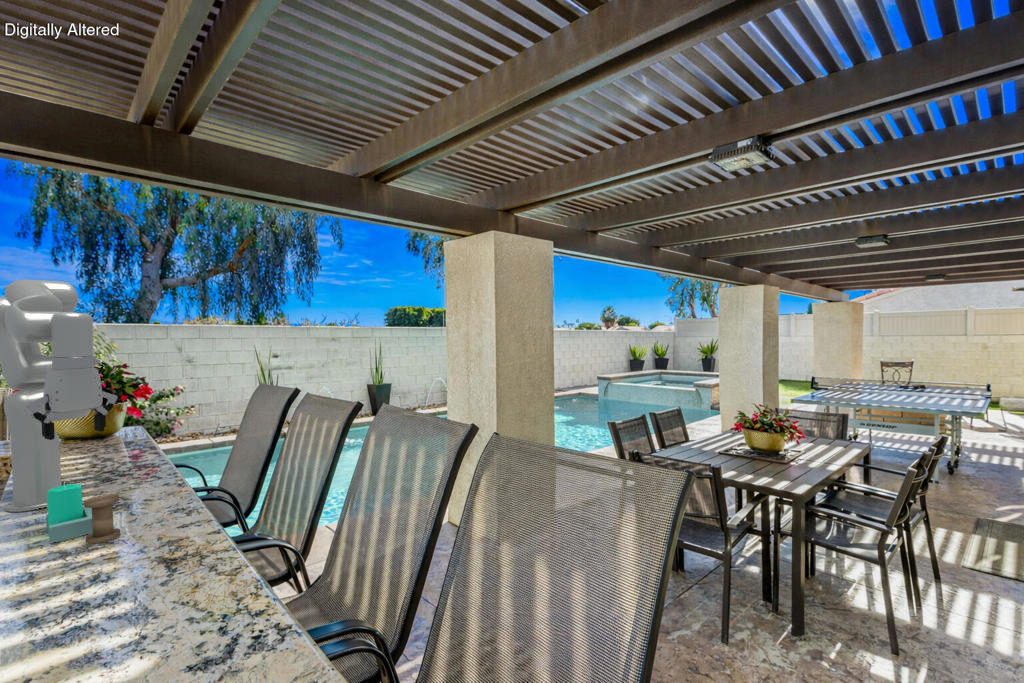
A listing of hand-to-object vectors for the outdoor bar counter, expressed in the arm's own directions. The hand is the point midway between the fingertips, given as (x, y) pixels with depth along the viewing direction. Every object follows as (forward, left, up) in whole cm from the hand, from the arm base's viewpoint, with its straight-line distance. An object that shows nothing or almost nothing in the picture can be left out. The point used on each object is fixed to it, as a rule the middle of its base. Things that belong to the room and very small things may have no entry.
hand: (75, 434), depth 117 cm
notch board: (+3, -2, -22) cm, 22 cm away
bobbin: (+15, -2, -22) cm, 27 cm away
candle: (+3, -4, -22) cm, 23 cm away
